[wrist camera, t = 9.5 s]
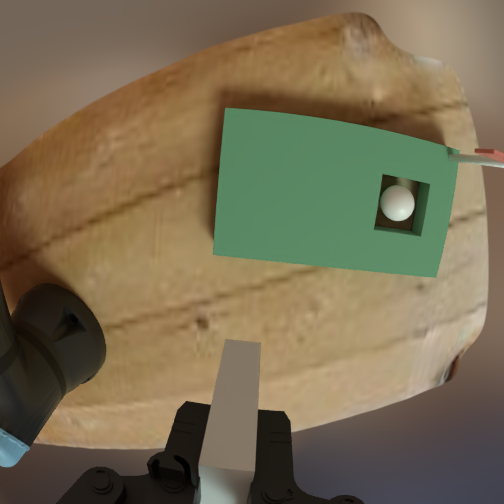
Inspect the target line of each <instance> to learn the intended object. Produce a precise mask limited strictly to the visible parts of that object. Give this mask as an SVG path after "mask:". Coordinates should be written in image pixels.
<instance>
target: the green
mask: <svg viewBox="0 0 504 504" xmlns="http://www.w3.org/2000/svg"><path fill="white" fill-rule="evenodd" d="M459 151H460V150H456V149H453V148H450V147H447V146H443V145H440V144H437V143H433V142H430V141H426V140H422V139H419V138H415V137H411V136H407V135H403V134H399V133H395V132H390V131H386V130H382V129H377V128H372V127H368V126H363V125H358V124H352V123H347V122H342V121H336V120H330V119H324V118H317V117H311V116H304V115H296V114H288V113H280V112H270V111H260V110H249V109H236V108H225V115H224V125H223V135H222V146H221V156H220V168H219V179H218V191H217V204H216V217H215V232H214V246H213V255H219V256H229V257H238V258H247V259H257V260H266V261H275V262H285V263H295V264H304V265H314V266H323V267H333V268H343V269H353V270H363V271H373V272H383V273H393V274H403V275H413V276H423V277H434V278H436V276H437V272H438V268H439V264H440V260H441V256H442V252H443V248H444V244H445V239H446V234H447V230H448V225H449V220H450V214H451V209H452V203H453V197H454V191H455V184H456V177H457V169H458V162H453V161H450V160H449V158H448V156H449V154H459ZM382 174H385V175H390V176H395V177H400V178H405V179H410V180H415V181H419V189H418V196H417V202H416V208H415V213H414V219H413V224H412V229H411V231H409V230H402V229H396V228H389V227H382V226H375V220H376V214H377V208H378V202H379V195H380V188H381V181H382Z"/></svg>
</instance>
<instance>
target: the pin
mask: <svg viewBox="0 0 504 504" xmlns="http://www.w3.org/2000/svg"><path fill="white" fill-rule="evenodd" d="M475 153H477V154H480V155H483V156H477V155H464V154H449V156H448V158H449V160H450V161H453V162H462V163H471V164H480V165H488V166H495V167H503V168H504V153H501V152H499V151H497V150H493V149H475Z"/></svg>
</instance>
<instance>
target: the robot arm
mask: <svg viewBox="0 0 504 504" xmlns="http://www.w3.org/2000/svg"><path fill="white" fill-rule="evenodd" d="M260 349H261V343H257V342H248V341H238V340H230V339H225V344H224V348H223V353H222V358H221V362H220V367H219V371H218V376H217V380H216V385H215V390H214V394H213V399H212V404H211V405H208V404H202V403H195V402H189V401H186V402H185V403H184V404H183V405H182V406H181V407H180V408H179V409H178V410H177V413H176V416H175V419H174V422H173V426H172V429H171V432H170V435H169V438H168V441H167V444H166V447H165V451H163V452H159V453H157V454H155V455H154V456H152V457H151V458H150V459H149V461H148V462H147V466H148V470H149V473H148V474H146V475H141V476H120V475H119V474H118V473H116V472H115V471H114V470H112V469H109V468H106V467H94V468H91V469H89V470H87V471H86V472H85V473H83V474H82V476H81V477H80V478H79V479H78V480H77V481H76V482H75V483H74V484H73V486H72V487H71V488H70V489H69V490H68V491H67V492H66V493H65V494H64V495H63V497H62V498H61V499H60V500H59V501H58V502H57V503H56V504H364V503H363V502H362V501H361V500H360V499H358V498H356V497H355V496H350V495H340V496H336V497H334V498H332V499H330V500H327V499H323V498H319V497H315V496H312V495H309V494H307V493H305V492H303V491H302V490H301V489H300V488H299V487H298V486H297V485H296V483H295V480H294V475H293V458H292V444H291V443H292V440H291V423H290V420H289V419H288V417H287V415H286V414H285V412H284V411H271V410H259V409H258V396H259V373H260ZM105 357H106V344H105V339H104V336H103V333H102V330H101V328H100V326H99V324H98V322H97V320H96V319H95V317H94V316H93V314H92V313H91V311H90V310H89V309H88V308H87V307H86V305H85V304H84V303H83V302H82V301H81V300H80V299H78V298H77V297H76V296H75V295H74V294H72V293H71V292H69V291H68V290H66V289H64V288H62V287H59V286H57V285H53V284H40V285H37V286H35V287H34V288H32V289H31V290H29V291H28V292H26V293H25V294H24V295H23V296H22V297H21V298H20V300H19V302H18V304H17V306H16V309H15V310H14V312H13V313H12V315H11V316H10V313H9V310H8V306H7V303H6V299H5V296H4V292H3V288H2V284H1V280H0V466H3V467H11V466H13V465H15V464H16V463H17V462H18V461H19V459H20V458H21V457H22V455H23V454H24V453H25V451H29V449H30V446H31V445H32V443H33V442H34V440H35V439H36V437H37V435H38V434H39V432H40V431H41V429H42V428H43V426H44V425H45V423H46V422H47V420H48V419H49V417H50V416H51V414H52V413H53V411H54V410H55V409H56V407H57V406H58V404H59V403H60V401H61V400H62V398H63V397H64V396H65V394H67V393H68V392H70V391H72V390H73V389H75V388H76V387H78V386H79V385H80V384H83V383H86V382H88V381H89V380H91V379H92V378H93V377H94V376H95V375H96V374H97V373H98V371H99V370H100V368H101V367H102V365H103V363H104V361H105Z"/></svg>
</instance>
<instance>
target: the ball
mask: <svg viewBox="0 0 504 504" xmlns="http://www.w3.org/2000/svg"><path fill="white" fill-rule="evenodd" d="M414 205H415V203H414V198H413V195H412V193H411V192H410V191H409V190H408V189H407V188H405V187H403V186H400V185H393V186H390V187H388V188H387V189H386V190H385V191H384V192H383V194H382V196H381V199H380V206H381V209H382V211H383V213H384V214H385V216H386V217H388V218H389V219H391V220H394V221H402V220H405V219H407V218H408V217H409V216H410V215H411V214H412V212H413V210H414Z"/></svg>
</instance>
